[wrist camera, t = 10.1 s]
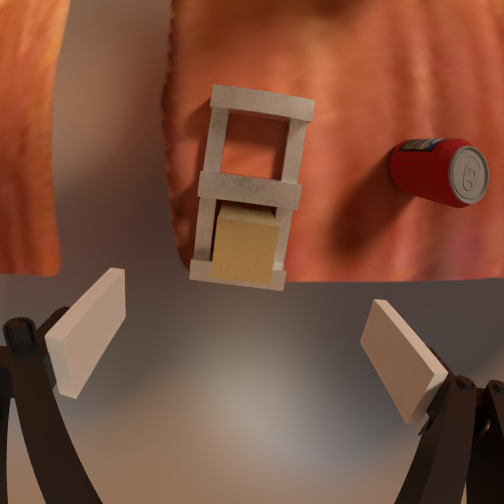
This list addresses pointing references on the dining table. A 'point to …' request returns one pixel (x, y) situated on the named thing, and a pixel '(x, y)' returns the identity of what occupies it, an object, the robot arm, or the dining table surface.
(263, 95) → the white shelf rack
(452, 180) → the beverage can
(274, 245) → the brass block
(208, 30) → the dining table surface
